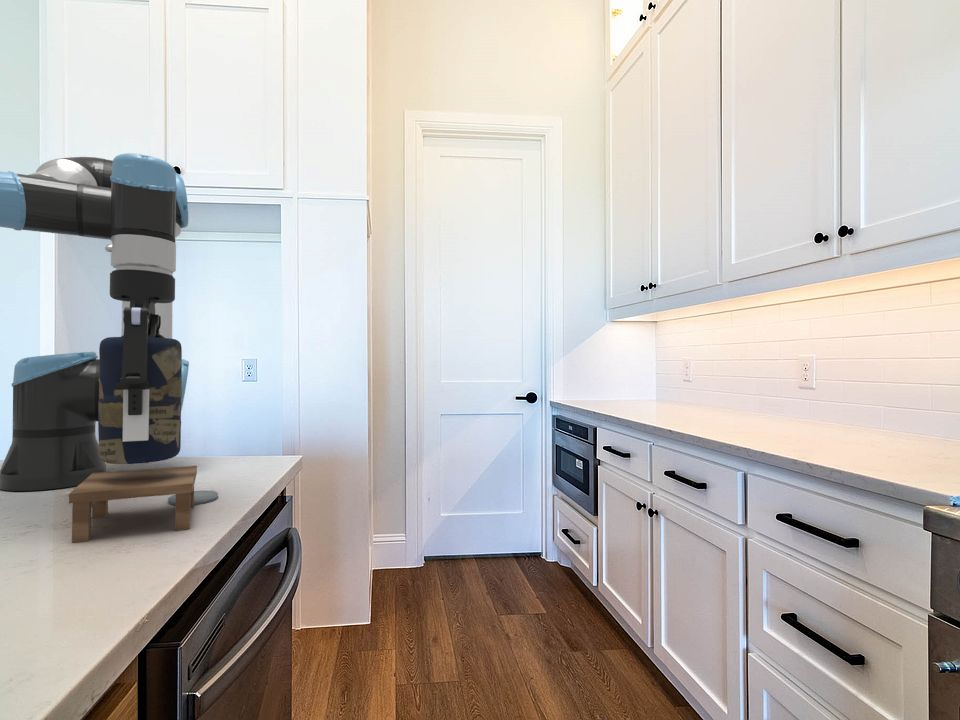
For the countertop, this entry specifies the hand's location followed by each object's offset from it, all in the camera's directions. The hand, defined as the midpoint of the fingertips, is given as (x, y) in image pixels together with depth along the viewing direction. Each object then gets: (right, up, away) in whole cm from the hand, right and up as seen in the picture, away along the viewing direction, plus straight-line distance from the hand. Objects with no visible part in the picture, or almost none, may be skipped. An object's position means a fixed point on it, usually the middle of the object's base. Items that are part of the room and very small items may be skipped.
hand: (141, 435), depth 71 cm
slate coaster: (+1, -12, +12) cm, 17 cm away
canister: (0, -4, 0) cm, 4 cm away
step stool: (0, -12, 0) cm, 12 cm away
